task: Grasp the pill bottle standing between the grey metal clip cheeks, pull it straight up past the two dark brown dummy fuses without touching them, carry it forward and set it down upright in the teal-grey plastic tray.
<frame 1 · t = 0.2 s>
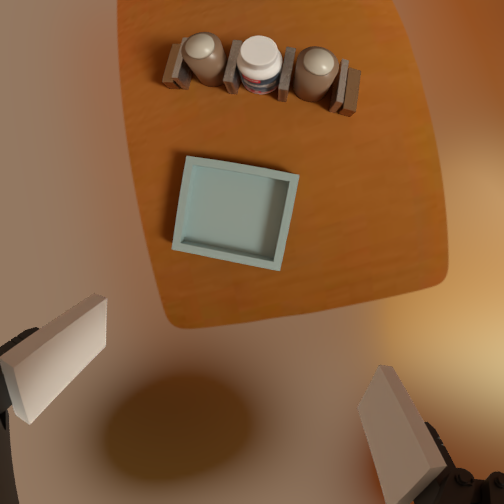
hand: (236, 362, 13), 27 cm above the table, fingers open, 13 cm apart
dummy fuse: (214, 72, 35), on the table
tray: (235, 211, 39), on the table
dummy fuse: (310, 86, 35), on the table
clip rail: (261, 77, 35), on the table
pill bottle: (261, 78, 35), on the table
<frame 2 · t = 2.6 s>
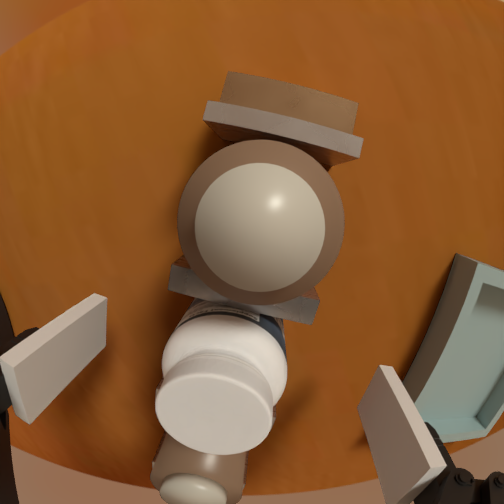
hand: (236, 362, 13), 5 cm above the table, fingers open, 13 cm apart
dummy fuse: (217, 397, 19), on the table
tray: (473, 357, 17), on the table
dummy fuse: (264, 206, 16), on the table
clip rail: (237, 316, 17), on the table
pill bottle: (237, 314, 18), on the table
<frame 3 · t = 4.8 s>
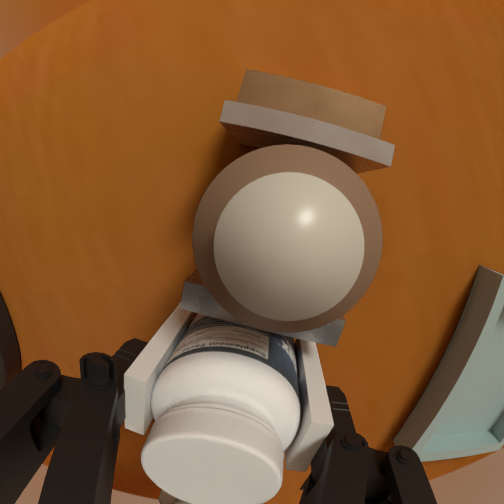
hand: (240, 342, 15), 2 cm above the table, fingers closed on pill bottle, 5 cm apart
tray: (491, 370, 16), on the table
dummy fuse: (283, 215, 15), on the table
clip rail: (252, 331, 16), on the table
pill bottle: (242, 337, 15), point 1 cm above the table, touching gripper
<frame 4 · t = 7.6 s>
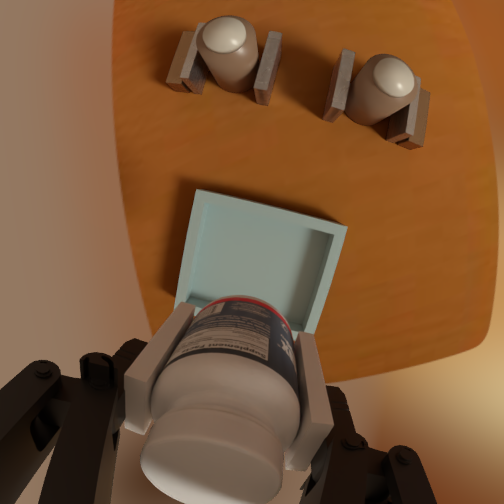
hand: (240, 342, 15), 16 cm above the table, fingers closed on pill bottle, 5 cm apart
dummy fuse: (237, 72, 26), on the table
tray: (257, 264, 30), on the table
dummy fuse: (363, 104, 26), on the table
clip rail: (301, 85, 26), on the table
pill bottle: (242, 338, 15), point 15 cm above the table, touching gripper
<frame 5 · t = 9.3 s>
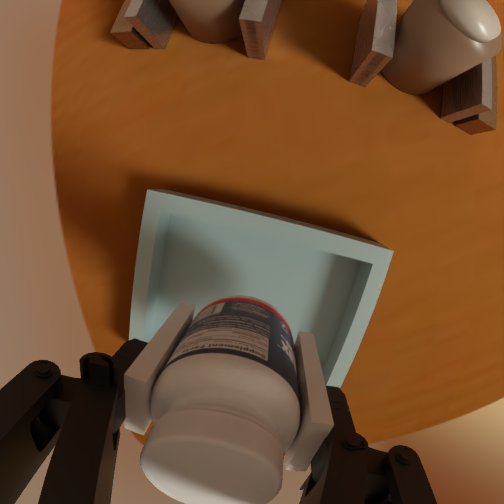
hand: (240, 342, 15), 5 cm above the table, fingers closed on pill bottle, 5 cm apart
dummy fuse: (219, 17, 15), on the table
tray: (249, 305, 19), on the table
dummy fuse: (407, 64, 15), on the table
clip rail: (315, 33, 15), on the table
pill bottle: (241, 338, 15), point 4 cm above the table, touching gripper
when the fingers open (2 cm above the table, at t = 10.6 s): pill bottle drops 1 cm, resting on tray.
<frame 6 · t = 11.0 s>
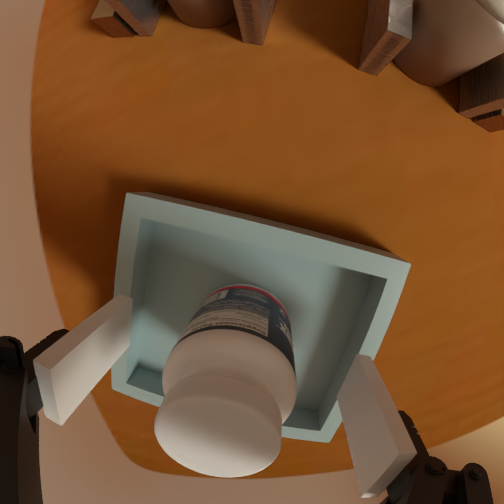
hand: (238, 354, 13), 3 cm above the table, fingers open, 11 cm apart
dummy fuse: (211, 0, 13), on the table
tray: (245, 323, 17), on the table
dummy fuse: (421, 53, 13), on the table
clip rail: (319, 17, 13), on the table
pill bottle: (243, 324, 17), resting on tray
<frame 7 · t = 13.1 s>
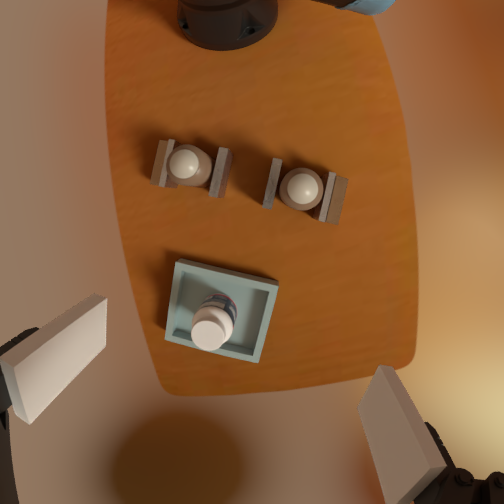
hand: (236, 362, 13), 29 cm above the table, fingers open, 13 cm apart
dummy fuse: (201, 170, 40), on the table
tray: (220, 309, 43), on the table
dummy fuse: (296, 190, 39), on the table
clip rail: (248, 180, 39), on the table
pill bottle: (219, 309, 43), resting on tray
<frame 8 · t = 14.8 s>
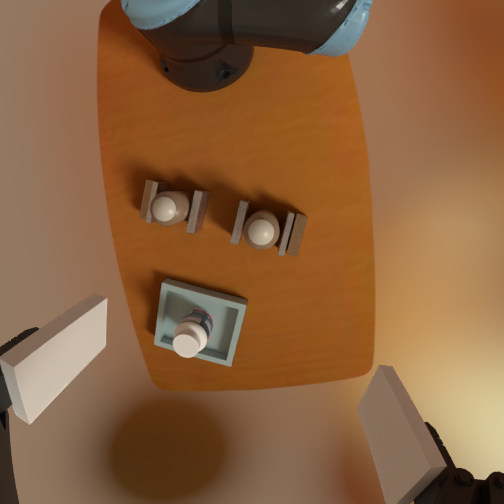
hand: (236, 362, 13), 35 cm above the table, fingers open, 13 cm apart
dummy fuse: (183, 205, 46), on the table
tray: (200, 320, 50), on the table
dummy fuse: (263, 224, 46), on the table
clip rail: (222, 214, 46), on the table
pill bottle: (199, 321, 50), resting on tray
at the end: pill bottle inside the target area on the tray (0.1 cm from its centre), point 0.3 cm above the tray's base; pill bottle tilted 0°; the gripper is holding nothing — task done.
